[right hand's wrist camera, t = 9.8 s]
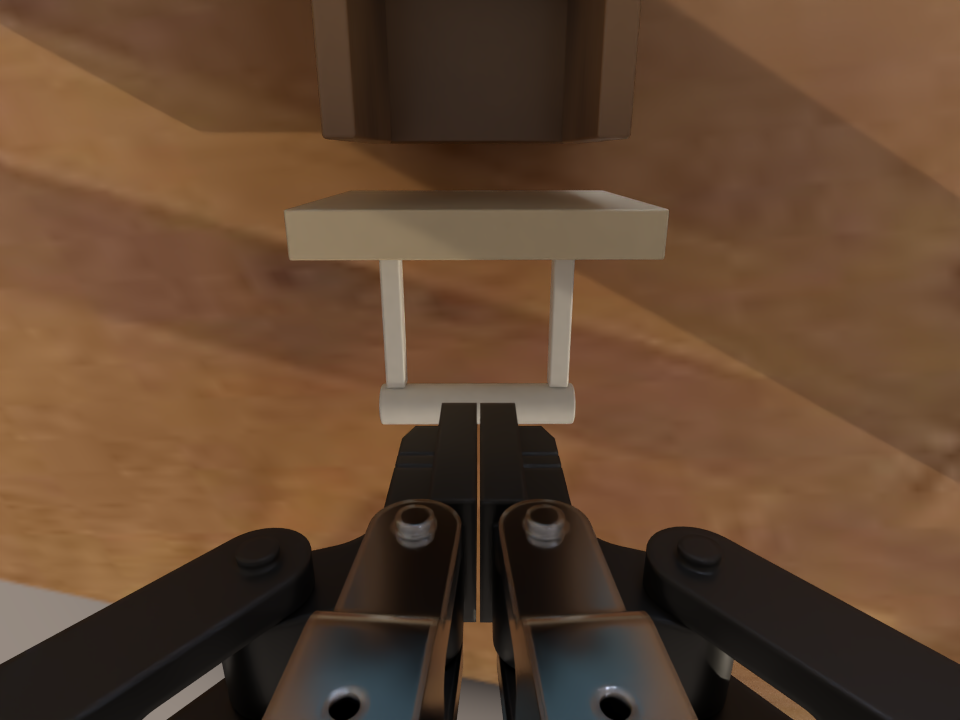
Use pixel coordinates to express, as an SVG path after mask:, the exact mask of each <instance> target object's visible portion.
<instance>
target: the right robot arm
mask: <svg viewBox="0 0 960 720" xmlns="http://www.w3.org/2000/svg"><path fill="white" fill-rule="evenodd" d="M476 563H477V403H442V405H441V412H440V419H439V425H438V426H415V427H414V428H413V429H412V430H411V431H410V432H409V433H408V434H406V435H405V436H404V437H403V438H402V441H401V445H400V449H399V453H398V456H397V460H396V464H395V468H394V472H393V476H392V479H391V483H390V487H389V491H388V495H387V499H386V502H385V506H384V508H383V509H382V510H380V511H379V512H378V513H377V514H376V515H375V516H374V517H373V518H372V520H371V521H370V523H369V526H368V528H367V530H366V533H365V534H364V535H362V536H361V537H359V538H357V539H355V540H352V541H350V542H347V543H344V544H340V545H337V546H332V547H328V548H323V549H318V550H314V551H311V546H310V543H309V541H308V540H307V538H306V537H304V536H303V535H302V534H300V533H298V532H296V531H293V530H290V529H284V528H265V529H260V530H255V531H251V532H248V533H245V534H242V535H240V536H238V537H235V538H233V539H231V540H229V541H228V542H226V543H224V544H222V545H220V546H218V547H217V548H215V549H213V550H211V551H209V552H207V553H205V554H204V555H202V556H200V557H198V558H196V559H194V560H192V561H191V562H189V563H187V564H185V565H183V566H181V567H180V568H178V569H176V570H174V571H172V572H170V573H168V574H167V575H165V576H163V577H161V578H159V579H157V580H155V581H154V582H152V583H150V584H148V585H146V586H144V587H143V588H141V589H139V590H137V591H135V592H133V593H131V594H130V595H128V596H126V597H124V598H122V599H120V600H118V601H117V602H115V603H113V604H111V605H109V606H107V607H106V608H104V609H102V610H100V611H98V612H96V613H94V614H93V615H91V616H89V617H87V618H85V619H83V620H82V621H80V622H78V623H76V624H74V625H72V626H70V627H69V628H67V629H65V630H63V631H61V632H59V633H57V634H56V635H54V636H52V637H50V638H48V639H46V640H45V641H43V642H41V643H39V644H37V645H35V646H33V647H32V648H30V649H28V650H26V651H24V652H22V653H21V654H19V655H17V656H15V657H13V658H11V659H9V660H8V661H6V662H4V663H2V664H0V720H142V719H143V718H144V717H146V716H147V715H148V714H149V713H150V712H152V711H153V710H154V709H156V708H157V707H158V706H160V705H161V704H163V703H164V702H166V701H167V700H169V699H170V698H171V697H173V696H174V695H176V694H177V693H179V692H180V691H181V690H183V689H184V688H186V687H187V686H189V685H190V684H191V683H193V682H194V681H196V680H197V679H199V678H200V677H201V676H203V675H204V674H206V673H207V672H209V671H210V670H212V669H213V668H214V667H216V666H217V665H219V664H220V663H222V665H223V670H224V675H225V678H224V679H222V680H221V681H220V682H218V683H217V684H215V685H214V686H213V687H211V688H210V689H209V690H207V691H206V692H204V693H203V694H202V695H200V696H199V697H198V698H196V699H195V700H193V701H192V702H191V703H189V704H188V705H186V706H185V707H184V708H182V709H181V710H179V711H178V712H177V713H175V714H174V715H173V716H171V717H170V718H168V719H167V720H457V713H458V705H459V696H460V688H461V680H462V672H463V622H476ZM480 622H492V623H493V643H494V647H495V649H496V651H497V672H498V680H499V688H500V696H501V705H502V713H503V720H793V719H792V718H790V717H789V716H787V715H786V714H785V713H783V712H782V711H781V710H779V709H778V708H776V707H775V706H774V705H772V704H771V703H769V702H768V701H767V700H765V699H764V698H762V697H761V696H760V695H758V694H757V693H756V692H754V691H753V690H751V689H750V688H749V687H747V686H746V685H744V684H743V683H742V682H740V681H739V680H738V679H736V678H735V677H733V676H732V675H731V672H732V667H733V662H734V660H736V661H737V662H738V663H740V664H741V665H743V666H744V667H746V668H747V669H748V670H750V671H751V672H753V673H754V674H756V675H757V676H758V677H760V678H761V679H763V680H764V681H766V682H767V683H768V684H770V685H771V686H773V687H774V688H776V689H777V690H779V691H780V692H781V693H783V694H784V695H786V696H787V697H789V698H790V699H791V700H793V701H794V702H796V703H797V704H799V705H800V706H801V707H803V708H804V709H805V710H807V711H808V712H809V713H810V714H811V715H812V716H814V717H815V719H816V720H960V664H958V663H956V662H954V661H952V660H951V659H949V658H947V657H945V656H943V655H941V654H940V653H938V652H936V651H934V650H932V649H930V648H928V647H927V646H925V645H923V644H921V643H919V642H917V641H915V640H914V639H912V638H910V637H908V636H906V635H904V634H903V633H901V632H899V631H897V630H895V629H893V628H891V627H890V626H888V625H886V624H884V623H882V622H880V621H878V620H877V619H875V618H873V617H871V616H869V615H867V614H866V613H864V612H862V611H860V610H858V609H856V608H854V607H853V606H851V605H849V604H847V603H845V602H843V601H841V600H840V599H838V598H836V597H834V596H832V595H830V594H829V593H827V592H825V591H823V590H821V589H819V588H817V587H816V586H814V585H812V584H810V583H808V582H806V581H805V580H803V579H801V578H799V577H797V576H795V575H793V574H792V573H790V572H788V571H786V570H784V569H782V568H780V567H779V566H777V565H775V564H773V563H771V562H769V561H768V560H766V559H764V558H762V557H760V556H758V555H756V554H755V553H753V552H751V551H749V550H747V549H745V548H743V547H742V546H740V545H738V544H736V543H734V542H732V541H731V540H729V539H727V538H725V537H723V536H721V535H719V534H716V533H713V532H711V531H708V530H704V529H700V528H694V527H672V528H667V529H664V530H661V531H659V532H657V533H655V534H654V535H653V536H652V537H651V538H650V539H649V541H648V544H647V548H646V552H645V551H641V550H636V549H632V548H627V547H622V546H618V545H615V544H611V543H608V542H605V541H603V540H601V539H599V538H597V537H596V535H595V533H594V530H593V528H592V526H591V523H590V521H589V520H588V518H587V517H586V516H585V515H584V514H583V513H582V512H581V511H580V510H578V509H577V508H575V507H573V506H571V502H570V498H569V494H568V490H567V486H566V482H565V478H564V474H563V470H562V468H561V462H560V458H559V456H558V450H557V446H556V442H555V438H554V437H552V436H551V435H550V434H549V433H548V432H547V431H546V430H545V429H544V428H543V427H542V426H518V421H517V413H516V406H515V403H480Z"/></svg>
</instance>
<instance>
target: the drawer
mask: <svg viewBox="0 0 960 720" xmlns="http://www.w3.org/2000/svg"><path fill="white" fill-rule="evenodd" d="M311 8H312V20H313V31H314V43H315V55H316V67H317V79H318V91H319V102H320V114H321V126H322V135H323V137H324V138H325V139H331V140H341V141H352V142H362V143H372V144H580V143H589V142H599V141H609V140H619V139H627V138H629V137H630V135H631V123H632V110H633V97H634V84H635V72H636V59H637V46H638V34H639V21H640V8H641V0H311ZM284 218H285V227H286V236H287V245H288V255H289V259H290V260H379V267H380V285H381V302H382V319H383V336H384V353H385V370H386V384H382V386H381V390H380V398H379V412H380V419H381V422H382V424H439V419H440V412H441V405H442V403H477V424H480V403H515V406H516V413H517V421H518V424H572V423H573V421H574V418H575V392H574V387H573V385H572V384H571V383H568V379H569V360H570V341H571V322H572V303H573V284H574V265H575V260H662V259H664V256H665V247H666V237H667V227H668V218H669V210H668V209H665V208H662V207H658V206H655V205H652V204H648V203H645V202H641V201H638V200H634V199H631V198H627V197H624V196H621V195H617V194H614V193H610V192H607V191H603V190H484V191H348V192H345V193H341V194H338V195H334V196H331V197H328V198H324V199H321V200H317V201H314V202H310V203H307V204H303V205H300V206H297V207H293V208H290V209H286V210H284ZM402 260H552V268H551V294H550V319H549V344H548V369H547V381H548V383H432V384H406V383H407V380H408V379H407V357H406V335H405V313H404V291H403V269H402Z"/></svg>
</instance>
